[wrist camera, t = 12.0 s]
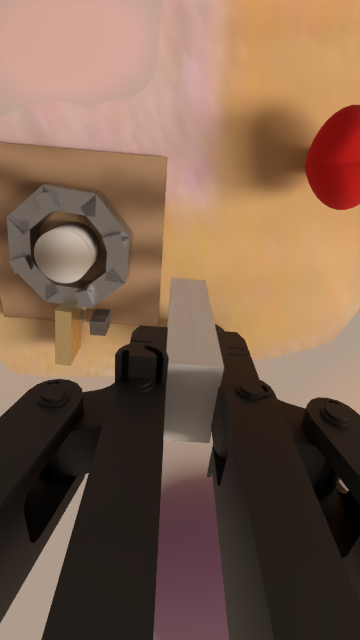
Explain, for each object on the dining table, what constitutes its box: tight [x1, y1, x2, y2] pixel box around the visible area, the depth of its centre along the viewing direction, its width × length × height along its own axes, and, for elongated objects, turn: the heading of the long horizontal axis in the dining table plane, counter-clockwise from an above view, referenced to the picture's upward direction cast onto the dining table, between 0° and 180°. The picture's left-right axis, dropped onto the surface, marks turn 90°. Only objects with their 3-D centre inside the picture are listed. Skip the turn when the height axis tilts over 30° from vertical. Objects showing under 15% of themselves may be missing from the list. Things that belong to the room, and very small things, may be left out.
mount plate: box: [0, 143, 167, 336], centre depth 38 cm, size 22×22×7 cm
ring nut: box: [7, 183, 133, 366], centre depth 40 cm, size 22×14×5 cm, turn 171°
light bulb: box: [305, 105, 360, 210], centre depth 33 cm, size 9×7×10 cm
